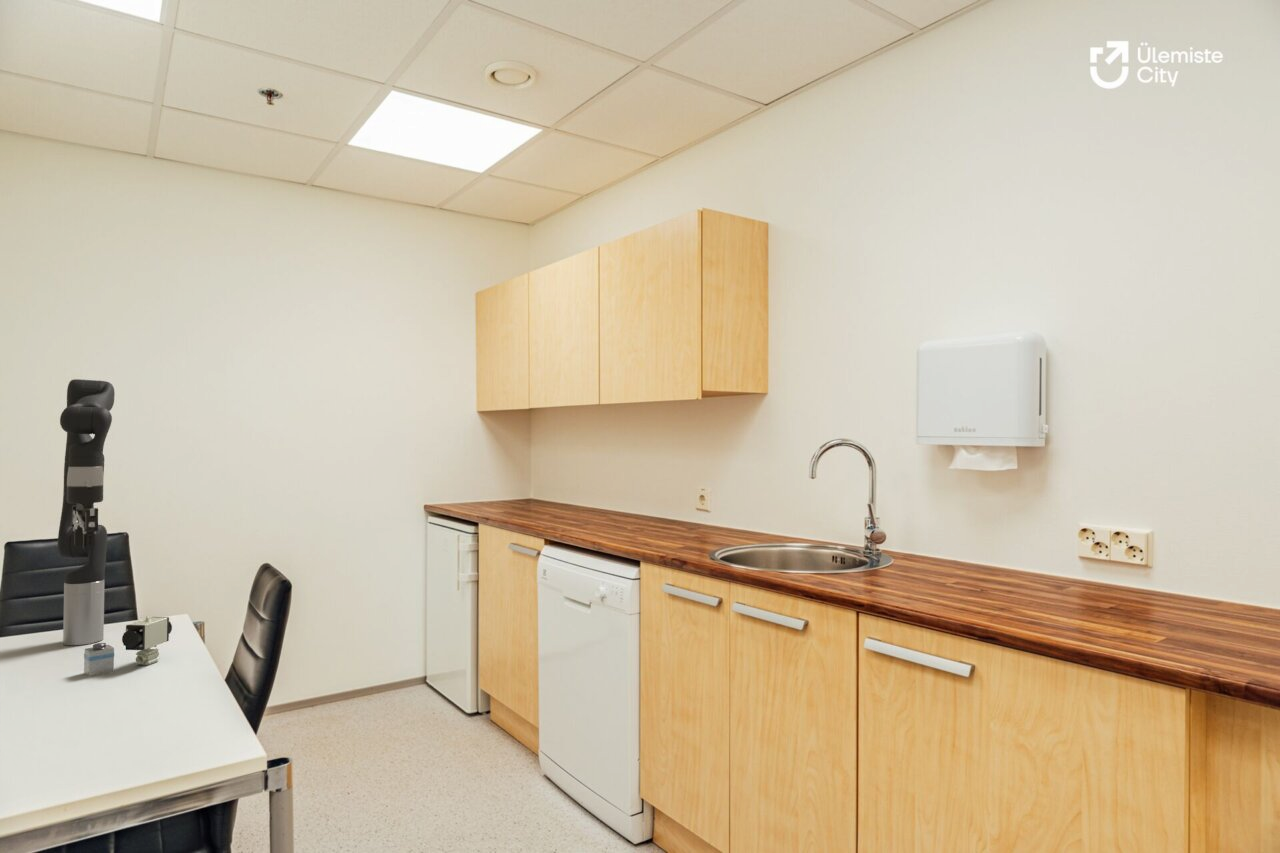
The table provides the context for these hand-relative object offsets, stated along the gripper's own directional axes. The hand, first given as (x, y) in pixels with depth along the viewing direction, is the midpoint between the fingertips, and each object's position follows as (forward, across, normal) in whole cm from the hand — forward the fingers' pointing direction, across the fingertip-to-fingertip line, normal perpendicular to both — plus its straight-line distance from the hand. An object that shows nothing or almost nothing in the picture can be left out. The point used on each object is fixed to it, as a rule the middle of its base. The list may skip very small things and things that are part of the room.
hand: (84, 547), depth 189 cm
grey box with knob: (+30, +11, +1) cm, 32 cm away
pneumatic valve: (+30, +11, +11) cm, 34 cm away
